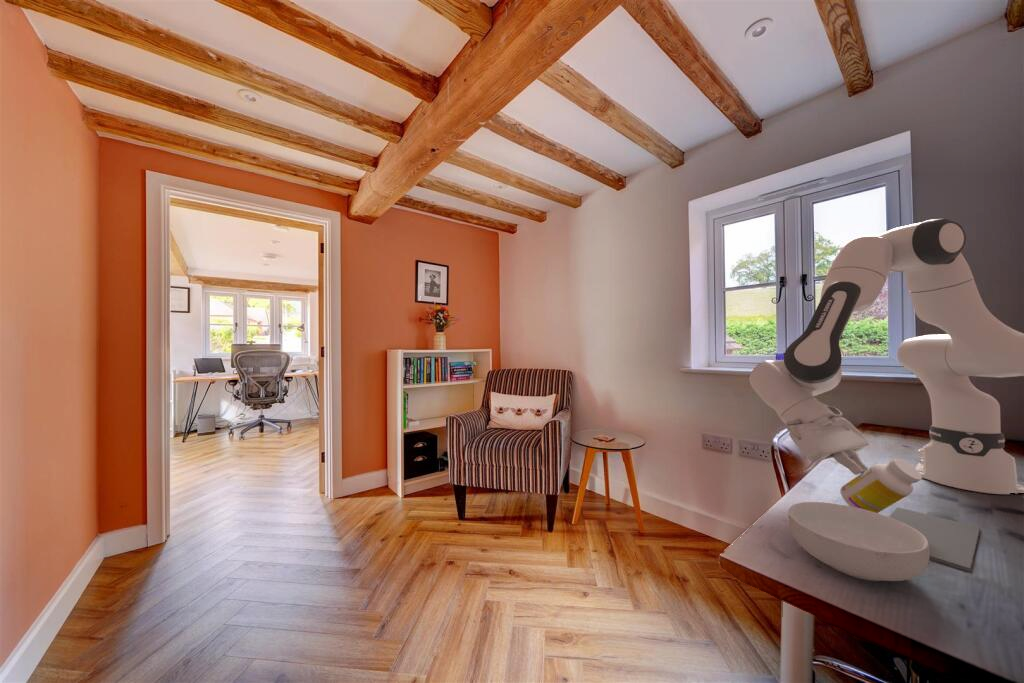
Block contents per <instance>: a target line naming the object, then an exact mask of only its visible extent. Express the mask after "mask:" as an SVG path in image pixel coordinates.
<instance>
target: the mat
mask: <svg viewBox="0 0 1024 683" xmlns="http://www.w3.org/2000/svg"><path fill="white" fill-rule="evenodd" d="M889 517H890V518H893V519H895V520H898V521H900V522H902V523H905V524H907V525H909V526H911V527H912V528H914V529H916V530H917V531H919V532H920V533H921V534H922V535H924V536H925V537H926V539H927V541H928V543H929V552H930V555H929V561H930V560H931V561H934V562H938V563H940V562H941V563H940V564H943V563H944V565H946V564H947V566H949V567H953V568H956V569H960V570H962V571H966V572H969V573H970V572H971V571H972V565H973V562H972V561H974V558H973V557H975V554H974V553H976V550H977V545H976V544H978V541H977V540H979V537H978V536H980V532H981V527H979V526H975V525H971V524H967V523H963V522H958V521H955V520H950V519H946V518H944V517H943V518H942V517H939V516H934V515H931V514H926V513H923V512H920V511H919V512H918V511H916V510H911V509H906V508H902V507H899V506H897V507H896V508H895V509H894V511H893V512H892V514H890V516H889Z"/></svg>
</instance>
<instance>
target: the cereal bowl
mask: <svg viewBox="0 0 1024 683" xmlns="http://www.w3.org/2000/svg"><path fill="white" fill-rule="evenodd" d="M787 514H788V515H787V516H788V517H787V518H788V525H789V526H788V527H789V529H790V532H791V534H792V536H793V538H794V539H795V541H796V542H797V543H798V545H799V546H801V547H802V549H804V551H806V552H807V553H809V554H810V555H811V556H813V557H814V558H815V559H817V560H819V561H820V562H822V563H824V564H826V565H828V566H830V567H831V568H833V569H834V570H836V571H838V572H840V573H843V574H844V575H847V576H851V577H853V578H856V579H860V580H865V581H872V582H881V581H882V582H883V581H884V582H898V581H900V582H901V581H908V580H911V579H914V578H916V577H918V576H919V575H921V574H923V573H924V572H925V571H926V569H927V568H928V565H929V562H930V559H929V555H930V552H929V543H928V541H927V539H926V537H925V536H924V535H922V534H921V533H920V532H919V531H917V530H916V529H914V528H912V527H911V526H909V525H907V524H905V523H902V522H900V521H898V520H895V519H893V518H890V516H887V515H885V514H881V513H875V512H871V511H868V510H864V509H860V508H856V507H851V506H849V505H845V504H841V503H839V504H838V503H834V502H833V503H832V502H823V501H822V502H821V501H805V502H798V503H794V504H792V505H791V506H789V508H788V510H787Z"/></svg>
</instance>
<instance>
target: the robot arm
mask: <svg viewBox="0 0 1024 683" xmlns="http://www.w3.org/2000/svg"><path fill="white" fill-rule="evenodd" d="M966 240H967V239H966V233H965V230H964V228H963V227H962V226H961V225H960V223H958V222H955V221H954V220H952V219H950V218H934V219H933V218H932V219H927V220H925V221H922V222H917V223H912V224H909V225H904V226H899V227H895V228H892V229H890V230H887V231H885V232H882V233H881V232H880V233H878V234H875V235H868V234H867V235H862V236H861V235H860V236H857V237H854V238H853V239H850V240H849V241H848V242H846V243H845V244H844V245H843V247H842V248H841V250H840V251H839V253H838V254H837V255H836V257H835V259H834V260H833V262H832V264H831V265H830V268H829V269H828V272H827V274H826V276H825V279H824V282H823V285H822V288H821V293H820V300H819V303H818V304H817V307H816V309H815V311H814V313H813V315H812V317H811V319H810V321H809V323H808V325H807V327H806V329H805V330H804V332H802V333H801V335H799V337H797V338H796V339H795V340H794V341H793V342H792V343H791V344H789V346H787V348H786V349H785V351H784V355H783V359H777V360H770V359H769V360H767V359H766V360H764V361H762V362H761V363H759V364H757V365H756V366H755V367H754V368H753V370H752V371H751V372H750V374H749V384H750V386H751V388H752V389H753V391H754V392H755V393H756V394H757V395H758V397H759V398H760V399H761V401H763V402H764V403H765V404H766V405H767V406H768V407H770V408H771V409H773V410H774V411H775V413H776V414H777V416H778V418H779V419H780V420H781V421H782V422H783V423H784V424H785V425H786V430H787V431H788V432H789V433H788V434H789V437H790V439H791V440H792V442H793V443H794V444H795V446H796V447H797V448H798V449H799V450H800V452H802V454H803V455H804V456H805V457H806V458H807V459H809V460H810V461H812V462H814V463H815V462H818V461H824V460H828V459H832V458H833V459H834V460H835V461H836V463H839V464H840V465H842V466H844V467H845V468H847V469H848V470H849V471H850V472H851V473H852V474H853V475H854V476H855V475H856V476H859V475H860V474H862V473H863V472H865V471H866V470H867V469H869V467H868V466H867V465H866V464H864V462H863V461H862V459H861V457H860V456H859V454H858V452H860V451H861V450H863V449H864V448H866V447H869V445H870V443H869V441H868V439H867V438H866V437H865V436H864V435H863V434H862V432H861V431H860V430H859V429H858V428H857V427H856V426H854V425H853V423H851V422H850V421H849V420H848V419H847V418H844V417H842V416H843V415H844V414H843V413H842V411H841V410H840V409H838V408H836V407H834V406H831V405H827V404H825V403H823V402H820V401H819V400H818V399H817V398H816V397H817V396H819V395H822V394H824V393H827V392H829V391H831V390H833V389H835V388H836V387H837V386H838V385H839V384H840V383H841V380H842V350H841V348H840V347H841V346H840V340H841V338H842V335H843V334H844V332H845V329H846V327H847V325H848V323H849V321H850V318H851V316H852V315H853V314H854V312H860V311H864V310H866V309H868V308H870V307H872V305H873V304H874V303H875V301H876V300H877V299H878V297H879V296H880V294H881V293H882V290H883V289H884V286H885V284H886V282H887V278H888V276H889V274H896V273H903V272H904V280H905V283H906V284H905V285H906V286H907V290H908V294H909V297H910V300H911V303H912V305H913V306H912V307H913V309H914V312H915V315H916V317H917V318H918V319H919V320H920V321H922V322H925V323H926V324H929V325H932V326H935V327H937V328H939V329H941V330H942V331H944V332H945V333H943V334H941V333H936V334H934V333H933V334H924V335H919V336H914V337H910V338H907V339H904V340H903V341H902V342H901V343H900V344H899V345H898V349H897V351H896V356H897V360H898V361H899V363H900V365H901V366H902V367H904V368H905V369H906V370H908V371H910V372H911V373H913V374H914V375H915V376H916V377H917V378H918V379H919V380H920V382H921V383H922V384H923V386H924V387H925V389H926V391H927V394H928V396H929V400H930V407H931V408H930V410H931V421H932V422H931V425H930V426H929V430H928V431H929V432H928V433H929V438H930V441H929V442H928V443H926V444H925V445H923V446H922V448H919V449H918V450H917V457H918V458H920V460H919V462H918V463H917V464H916V466H915V467H914V468H915V469H916V470H917V471H918V472H919V473H920V474H921V476H922V479H926V480H929V481H931V482H935V483H937V484H940V485H943V486H944V485H945V486H948V487H951V488H952V487H953V488H956V489H961V490H967V491H972V492H978V493H985V494H993V495H1011V494H1010V493H1015V494H1018V493H1024V486H1023V485H1021V484H1018V477H1017V476H1018V473H1017V465H1016V460H1015V457H1014V456H1012V455H1011V454H1009V453H1008V452H1006V451H1005V450H1004V448H1005V442H1006V438H1005V434H1004V433H1003V432H1001V431H1002V430H1001V429H1002V428H1001V423H1002V422H1001V405H1000V403H999V401H998V400H997V399H996V398H995V397H994V396H992V395H991V394H988V393H986V392H984V391H981V390H980V389H978V388H976V386H975V385H974V384H973V383H972V382H971V380H970V378H969V377H980V378H981V377H986V378H1010V377H1012V378H1013V377H1015V378H1016V377H1024V333H1023V332H1020V331H1018V330H1016V329H1013V328H1012V327H1011V326H1008V325H1006V324H1005V323H1003V322H1002V321H1001V320H1000V319H998V318H997V317H996V316H994V314H992V312H991V311H990V310H989V309H988V308H987V307H986V305H985V303H984V301H983V298H982V297H981V294H980V292H979V290H978V286H977V283H976V282H975V281H976V280H975V279H974V276H973V273H972V271H971V267H970V266H969V264H968V262H967V260H966V259H965V257H964V255H963V253H962V251H963V249H964V247H965V244H966Z"/></svg>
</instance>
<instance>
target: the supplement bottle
mask: <svg viewBox="0 0 1024 683" xmlns="http://www.w3.org/2000/svg"><path fill="white" fill-rule="evenodd" d="M922 479H923V478H922V476H921V474H920V473H919V472H918V471H917V470H916V469H915V467H914V466H913V465H911V464H910V463H909V462H907V461H905V460H903V459H901V458H894V459H892V460H890V461H889V462H888V464H886V463H875V464H873V465H872V466H870V467H868V469H867V470H866V471H865V472H863V473H861V474H858V475H856V477H854V478H853V479H851V480H850V481H849V482H847V483H845V484H844V485H843V486H841V488H840V490H839V492H840V495H841V497H842V499H843V500H844V501H845V502H846V504H847V506H851V507H856V508H860V509H864V510H868V511H871V512H875V513H878V514H880V512H882V511H884V510H886V509H887V508H889V507H891V506H893V505H894V504H895V503H897V502H899V501H901V500H902V499H904V498H905V497H908V496H909V495H910V494H913V491H914V486H913V484H916V483H918V482H919V481H922Z"/></svg>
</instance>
